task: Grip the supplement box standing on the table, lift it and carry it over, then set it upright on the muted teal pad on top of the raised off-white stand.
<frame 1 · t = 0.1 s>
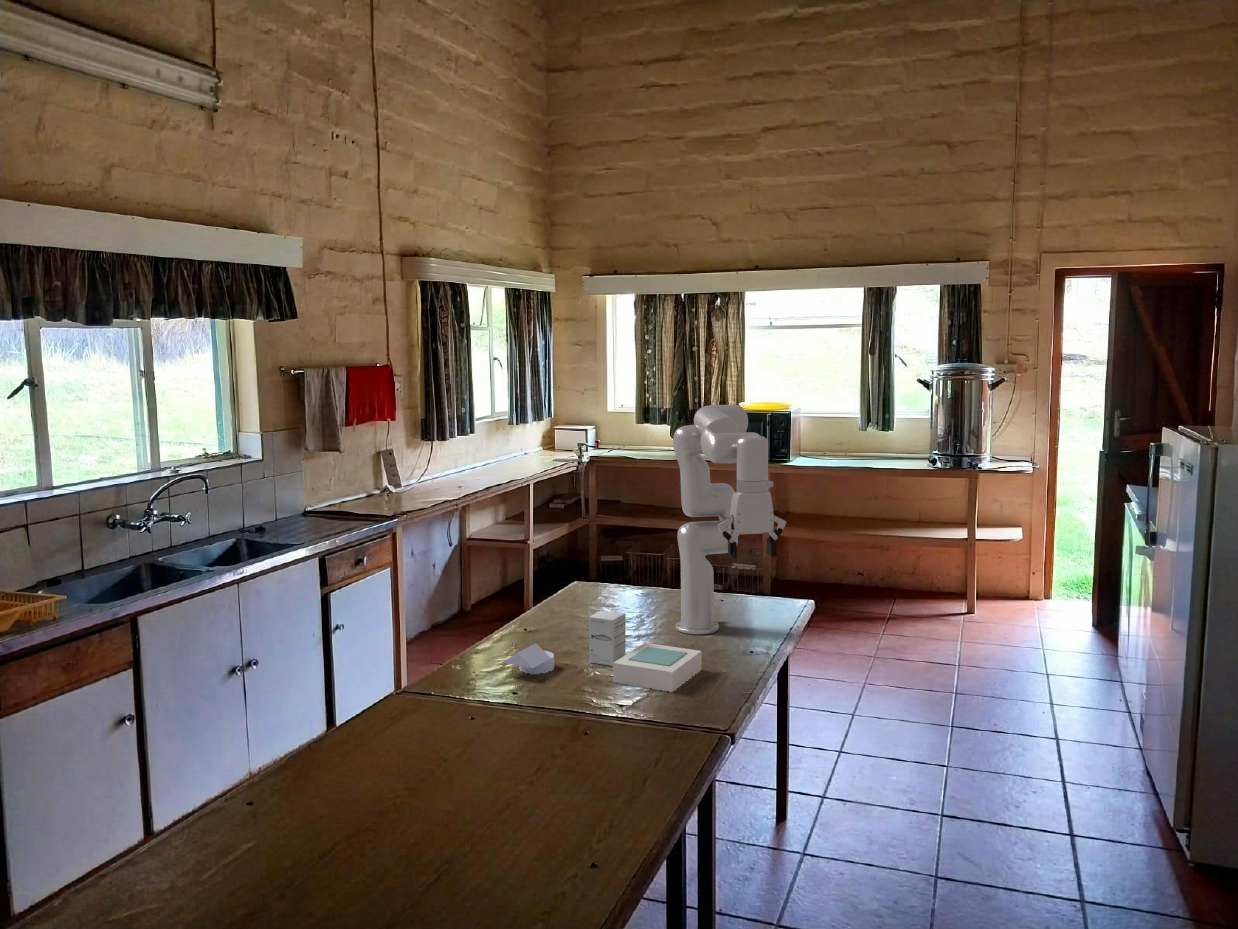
hand: (751, 556, 239), 31 cm above the table, tool pointing down, fingers open, 9 cm apart
stand: (658, 676, 247), on the table
supplement box: (607, 661, 259), on the table
wedge on round base: (532, 671, 252), on the table
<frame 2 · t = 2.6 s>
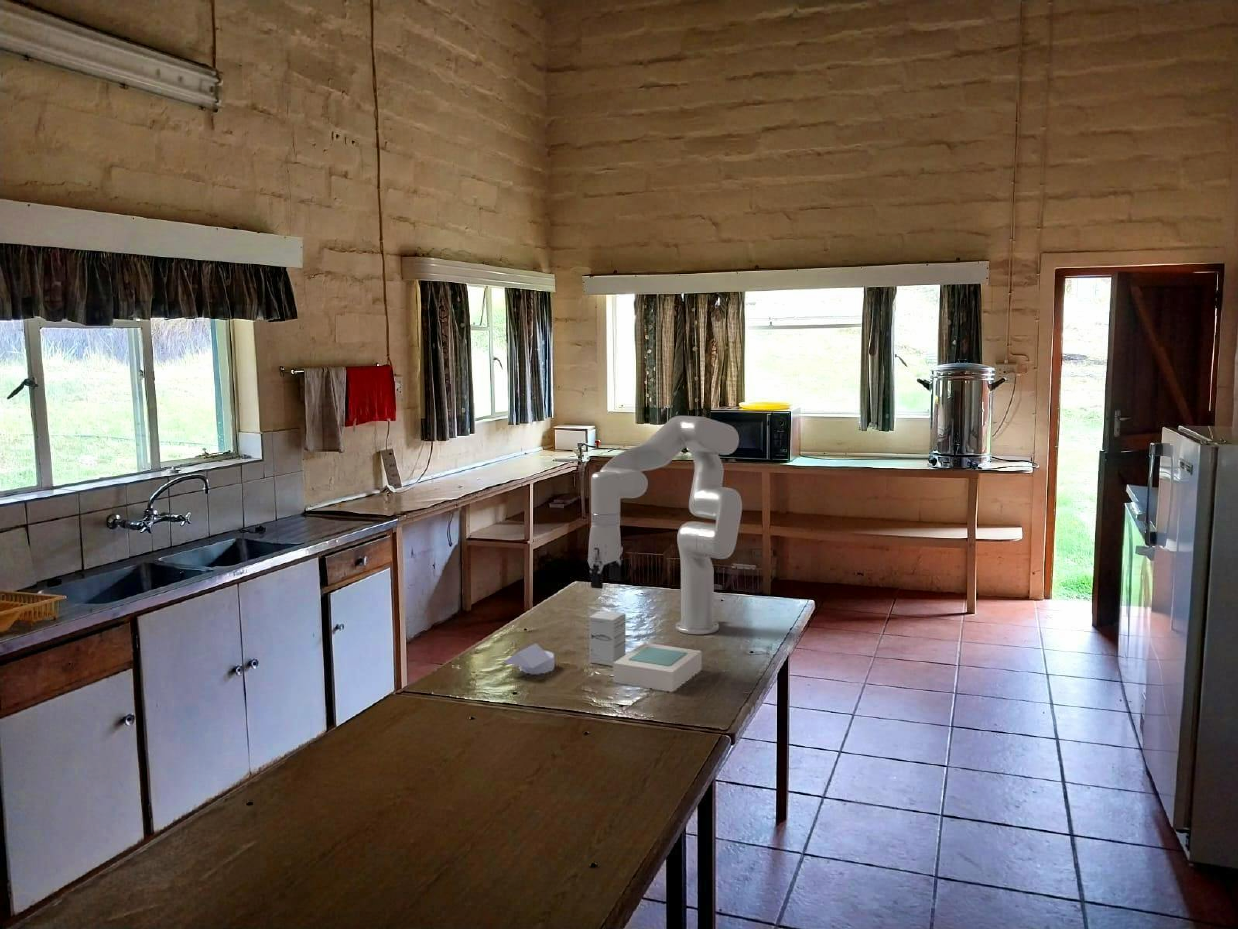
hand: (605, 584, 256), 21 cm above the table, tool pointing down, fingers open, 9 cm apart
nothing on the table moved.
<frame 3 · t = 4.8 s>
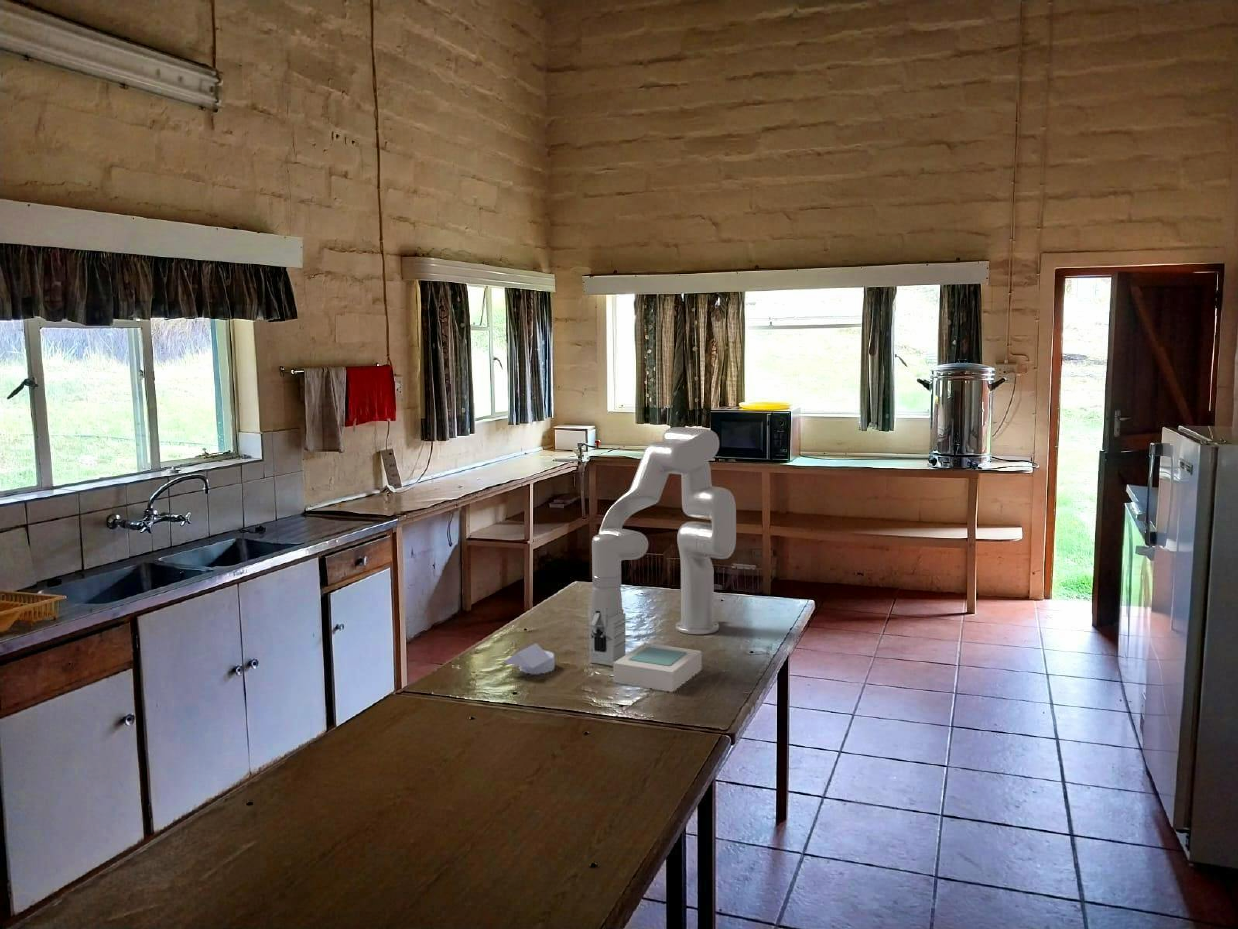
hand: (607, 646, 258), 4 cm above the table, tool pointing down, fingers closed on supplement box, 7 cm apart
supplement box: (607, 661, 259), on the table, touching gripper
everything else where it was.
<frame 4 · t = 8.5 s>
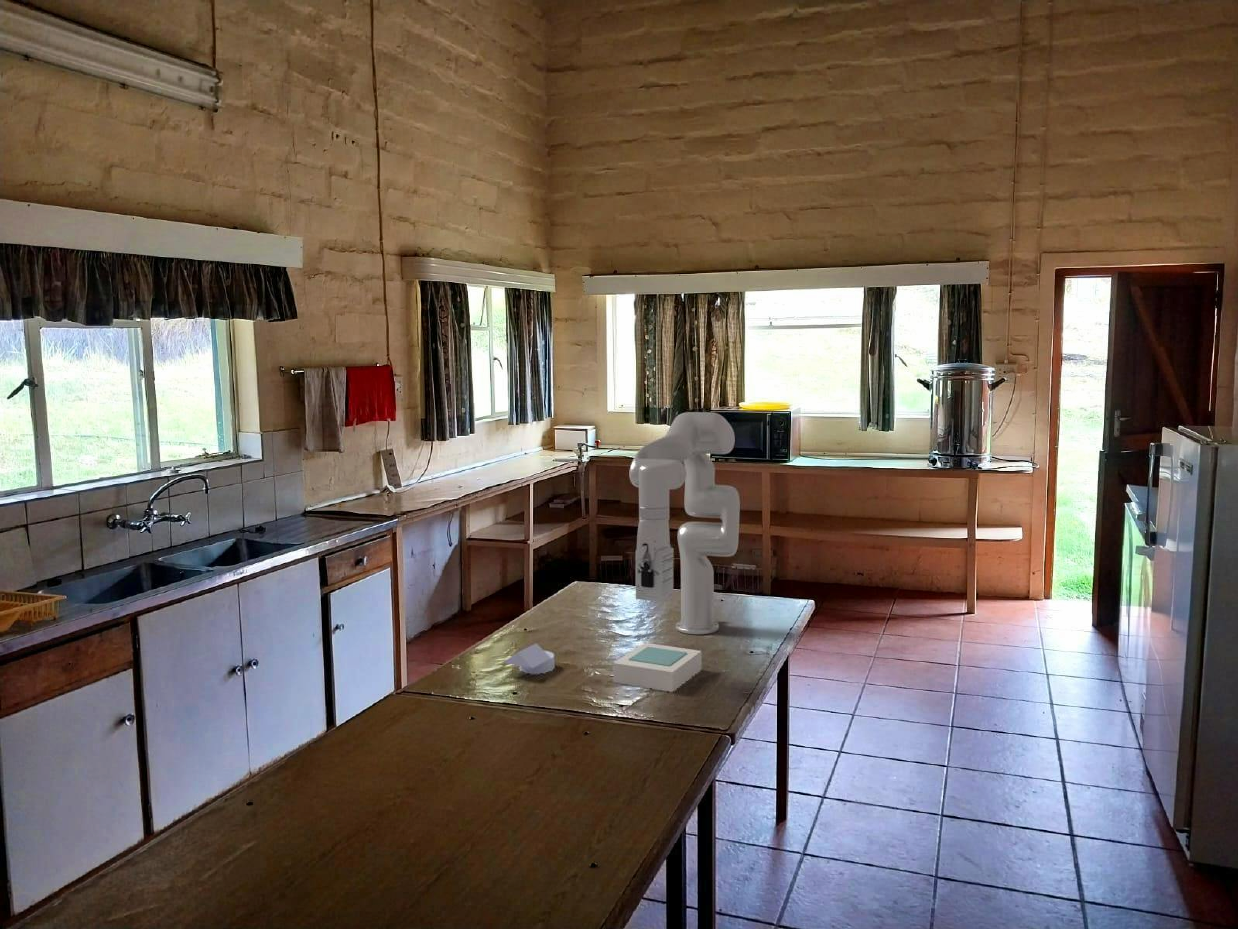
hand: (654, 582, 244), 24 cm above the table, tool pointing down, fingers closed on supplement box, 7 cm apart
supplement box: (654, 598, 245), point 20 cm above the table, touching gripper
everything else where it was.
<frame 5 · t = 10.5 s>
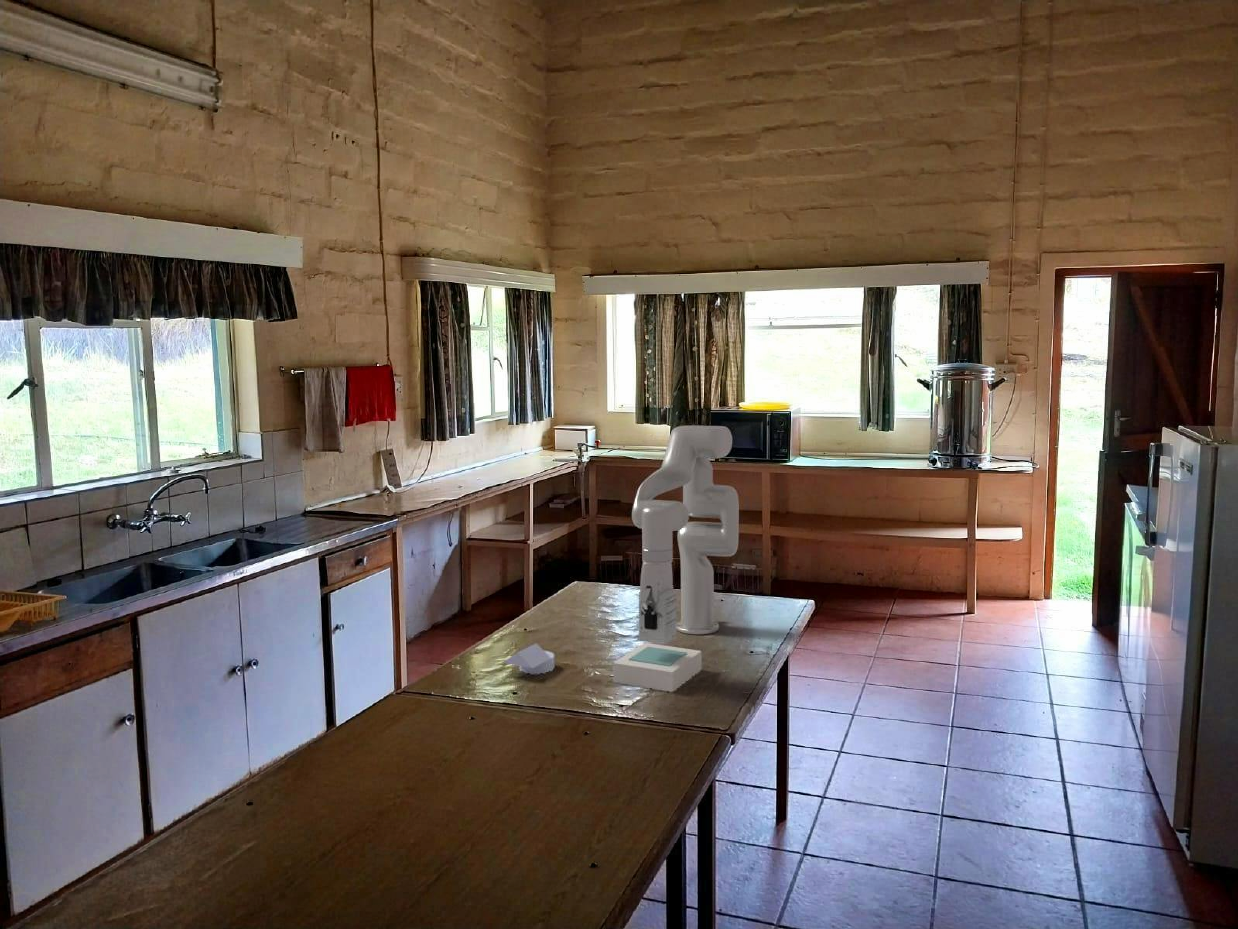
hand: (657, 624, 245), 13 cm above the table, tool pointing down, fingers closed on supplement box, 7 cm apart
supplement box: (657, 640, 245), point 9 cm above the table, touching gripper
everything else where it was.
when the fingers open (10 cm above the table, at t = 12.2 s): supplement box stays where it is, resting on stand.
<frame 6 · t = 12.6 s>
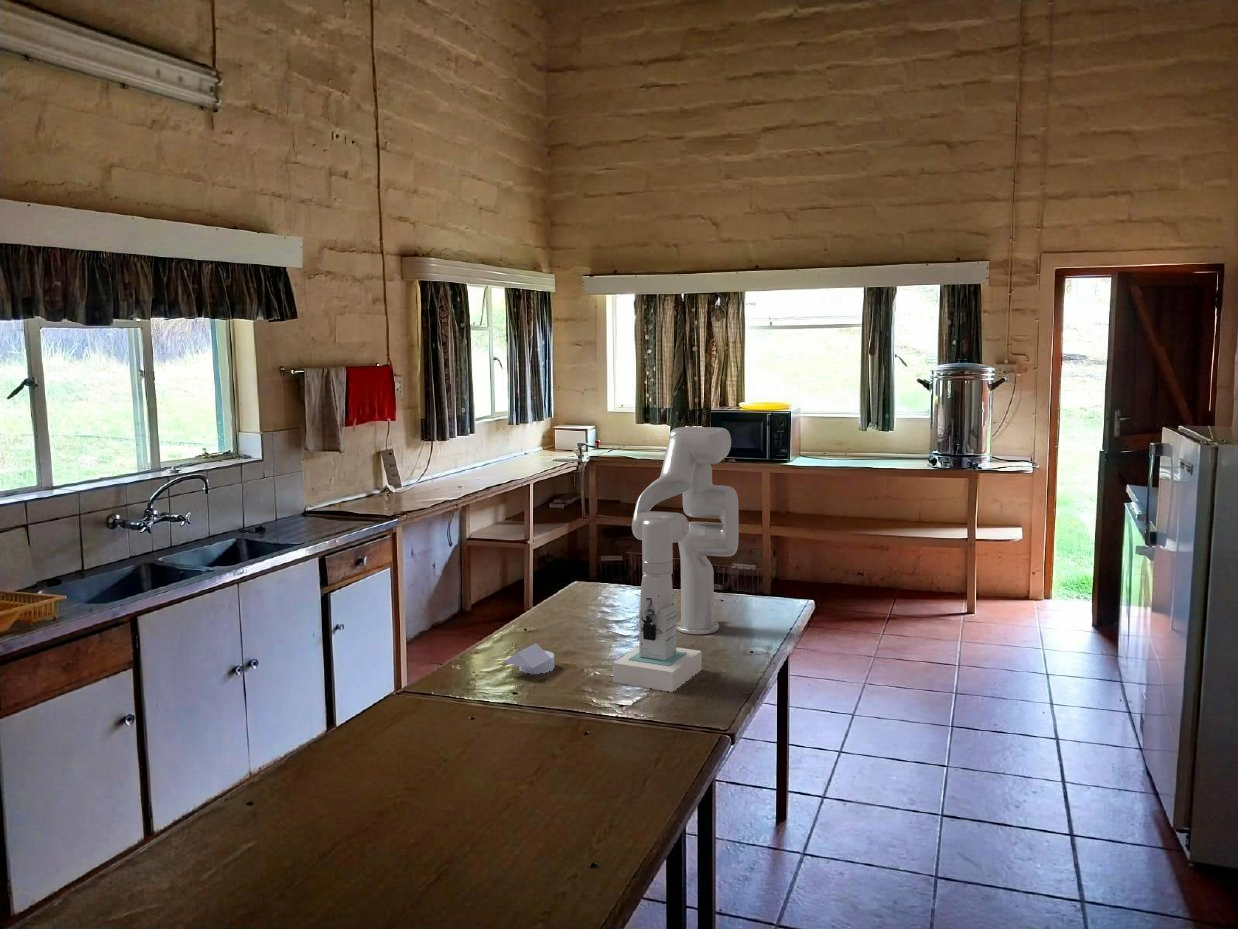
hand: (657, 634, 245), 11 cm above the table, tool pointing down, fingers open, 9 cm apart
supplement box: (658, 656, 246), point 5 cm above the table, touching stand
everything else where it was.
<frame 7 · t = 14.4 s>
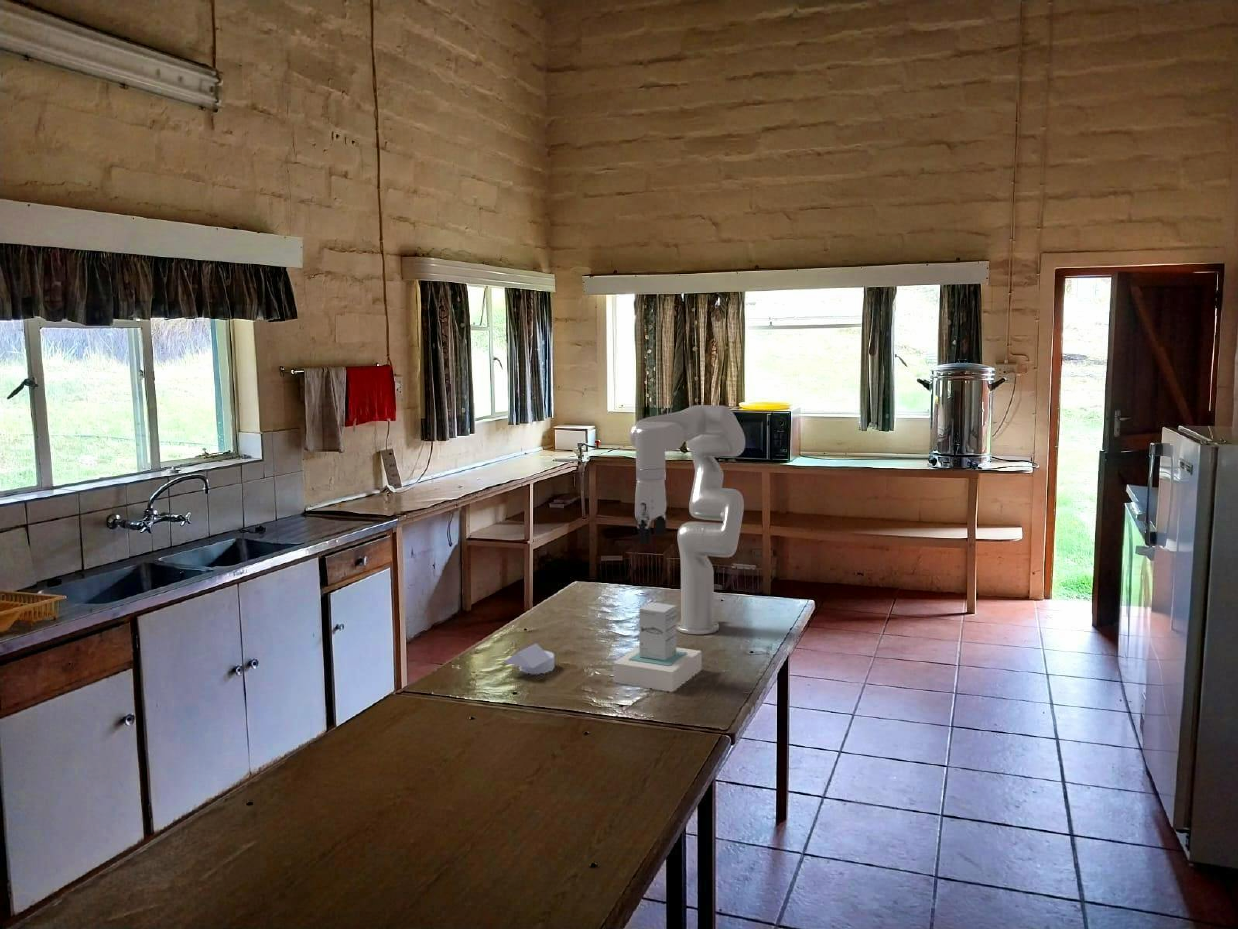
hand: (652, 539, 254), 33 cm above the table, tool pointing down, fingers open, 9 cm apart
nothing on the table moved.
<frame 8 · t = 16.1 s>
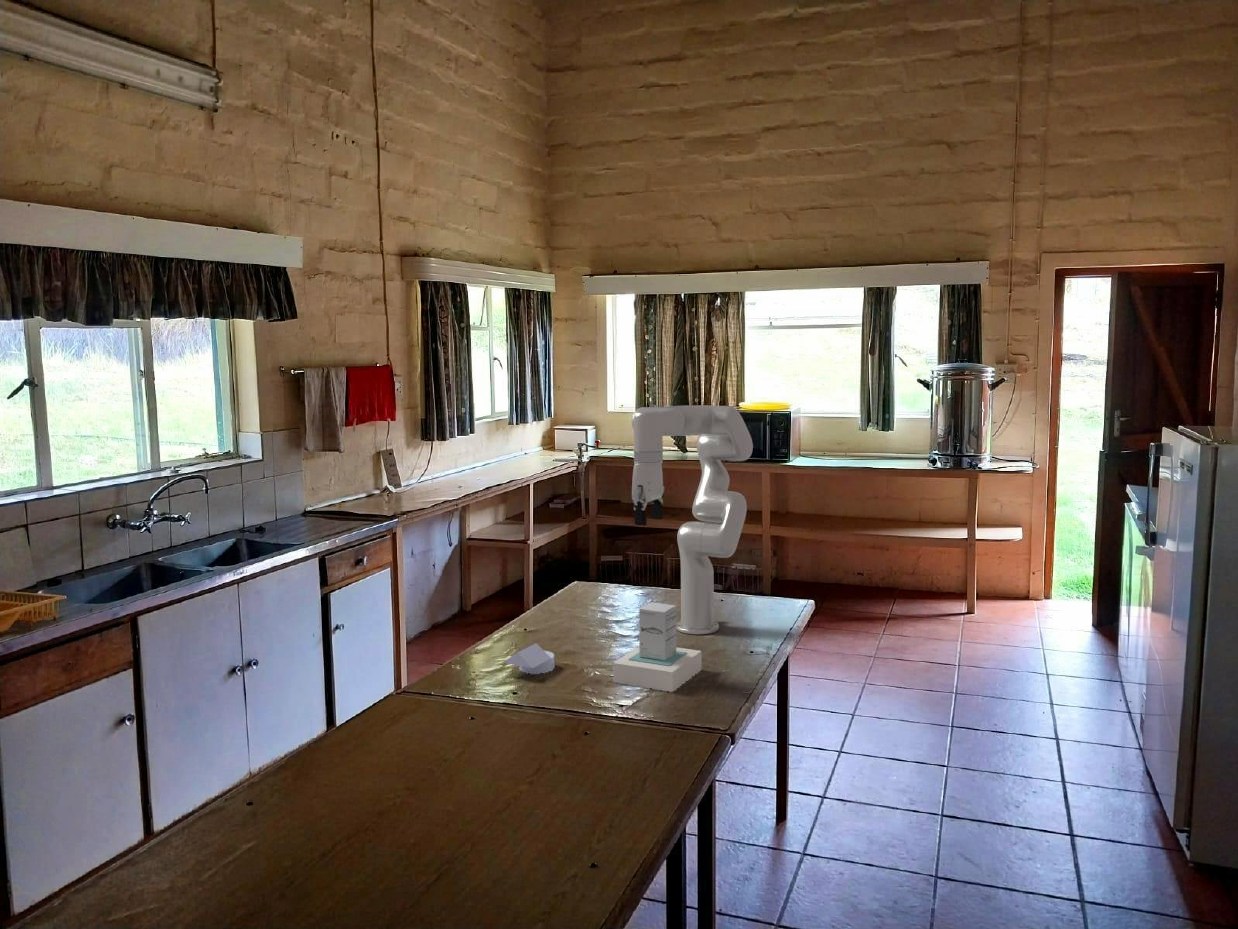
hand: (648, 522, 259), 36 cm above the table, tool pointing down, fingers open, 9 cm apart
nothing on the table moved.
at the end: supplement box inside the target area on the stand (0.2 cm from its centre), point 5.1 cm above the stand's base; supplement box tilted 0°; the gripper is holding nothing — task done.
